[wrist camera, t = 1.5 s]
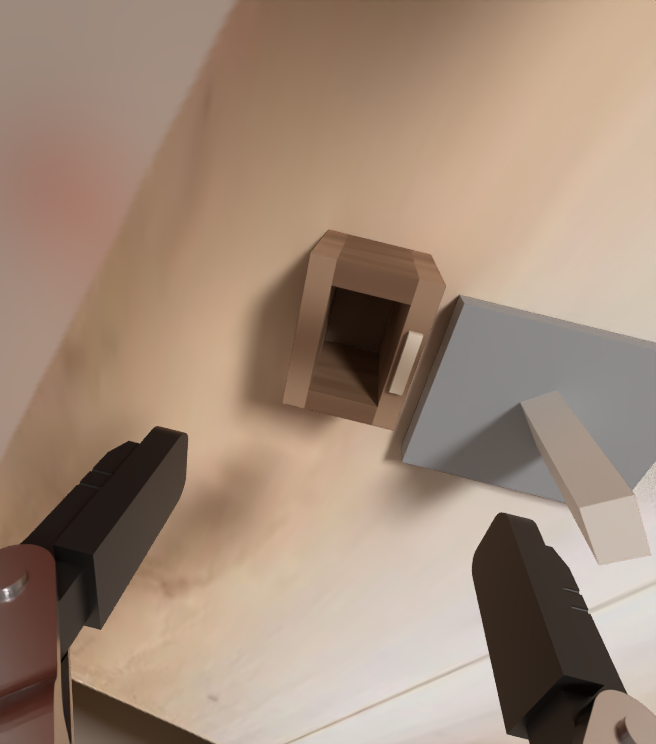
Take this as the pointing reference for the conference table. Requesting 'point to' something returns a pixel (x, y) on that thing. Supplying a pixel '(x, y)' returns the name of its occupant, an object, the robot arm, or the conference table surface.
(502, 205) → the conference table surface
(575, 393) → the base
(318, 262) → the open cubby box
